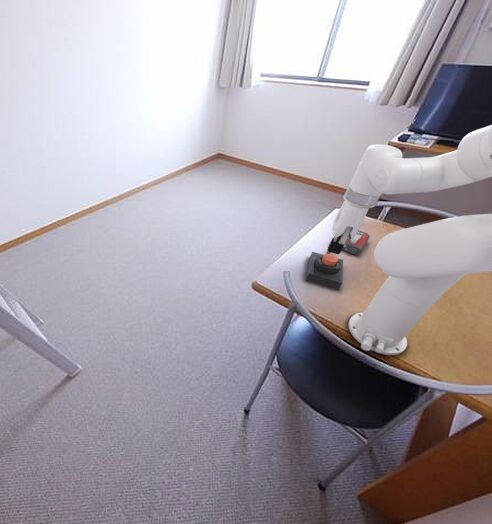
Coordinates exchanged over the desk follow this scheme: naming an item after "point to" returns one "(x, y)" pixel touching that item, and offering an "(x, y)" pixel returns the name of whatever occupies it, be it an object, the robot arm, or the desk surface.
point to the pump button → (329, 259)
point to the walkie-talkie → (356, 243)
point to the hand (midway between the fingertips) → (333, 251)
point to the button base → (324, 272)
